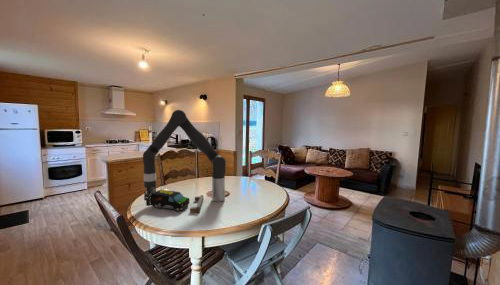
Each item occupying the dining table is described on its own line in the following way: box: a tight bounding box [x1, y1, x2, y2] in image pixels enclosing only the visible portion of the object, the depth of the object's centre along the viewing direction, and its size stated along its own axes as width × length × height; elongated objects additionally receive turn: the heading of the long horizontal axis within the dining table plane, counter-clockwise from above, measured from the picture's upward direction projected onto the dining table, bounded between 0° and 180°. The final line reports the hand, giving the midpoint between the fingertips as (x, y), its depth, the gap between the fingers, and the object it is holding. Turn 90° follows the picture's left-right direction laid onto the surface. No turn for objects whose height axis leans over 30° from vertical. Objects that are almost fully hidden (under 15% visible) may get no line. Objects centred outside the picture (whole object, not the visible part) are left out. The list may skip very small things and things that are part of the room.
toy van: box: [149, 189, 190, 213], centre depth 138 cm, size 11×25×10 cm, turn 75°
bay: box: [189, 194, 204, 214], centre depth 140 cm, size 6×21×4 cm, turn 6°
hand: (150, 203), depth 137 cm, fingers open, 8 cm apart
